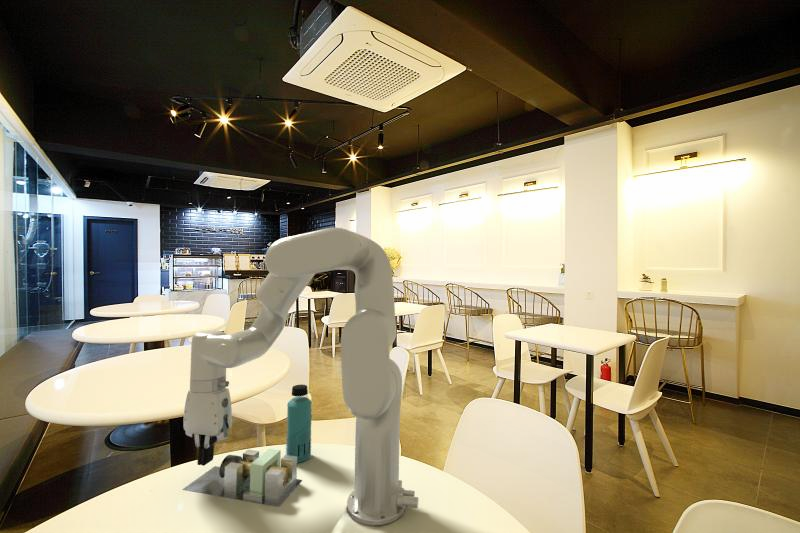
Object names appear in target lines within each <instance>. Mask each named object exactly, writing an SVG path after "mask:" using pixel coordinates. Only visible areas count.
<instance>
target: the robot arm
mask: <svg viewBox="0 0 800 533" xmlns="http://www.w3.org/2000/svg"><path fill="white" fill-rule="evenodd" d="M264 265H265V267H266V270H267V271H268V272H269V273H268V274H267V275H266V277H265V278H264V280H263V281H262V282H261V284H259V286H258V288H257V289H256V292H255V297H256V299H257V300H258V302H259V303H260V305H261V310H260V312H259V313H258V315H257V317H256V319H255V320H254V321H253V323H252V324H251V325H250V326H249V328H248V329H245V330H242V331H237V332H234V333H233V332H232V333H230V334H229V333H228V334H227V333H225V332H224V331H221V330H204V331H199V332H197V333H196V332H195V333H194V334H193V336H192V337H191V347H190V348H191V349H190V351H191V352H190V371H189V372H190V373H189V376H190V377H189V390H187V394H186V399H185V403H184V404H185V405H184V409H183V430H184V431H185V435H186V436H188V437H190V438H192V439H193V441H194V444H195V447H196V448H197V462H196V463H197V466H203V467H204V466H205V465H207V464H209V463H210V462H212V461H213V459H214V451H215V450H214V449H215V444H216V443H217V442H220V441H224V440H226V439H227V438H229V437H228V436H229V435H228V430H230V429H231V428H232V425H233V424H232V423H233V421H232V420H233V409H232V408H233V407H232V401H231V393H230V389H229V388H227V387H229V385H230V382H229V380H227V369H232V368H236V367H240V366H243V365H245V364H247V363H249V362H251V361H254V360H256V359H259V358H261V357H262V356H264V355H265V354H266V353H267V352H268V351H269V350H270V348H271V347H272V346H273V344H274V343H276V340H277V338H278V337H279V336H280V334H281V333H282V331H283V330H284V328H285V326H286V322H287V319H288V314H289V311H290V309H292V307H293V305H294V304H295V302H296V301H297V300H298V298H299V297H300V296H301V294H302V292H303V291H304V290H305V288H306V287H307V286H308V284H310V282H311V280H312V279H313V278H314V276H315V275H316V274H318V273H324V272H329V271H335V270H336V271H337V270H340V271H343V270H344V271H347V270H348V271H351V272H353V273H354V274H355V283H354V299H355V300H354V301H355V303H354V305H355V312H354V313H355V314H354V315H352V316H351V317H350V318H349V319H347V321H346V322H345V324H344V326H343V328H342V332H341V335H340V336H341V337H340V362H341V363H340V366H341V382H342V383H341V385H342V396H343V400H344V403H345V405H346V407H347V409H348V410H349V412H350V413H351V414H352V415H353V416H354V417H355V437H354V438H355V439H354V440H355V444H354V445H355V446H354V447H355V448H354V450H355V451H354V490H353V491H352V492H351V493H350V494H349V495H348V497H347V501H346V511H347V513H348V515H349V516H350V517H351V519H352V520H354V521H355V522H357V523H359V524H363V525H367V526H383V525H388V524H391V523H393V522H395V521H396V520H398V519H399V518H400V517H401V516H402V515H403V514H404V512H405V510H406V507H408V508H412V509H413V508H414V509H418V508H419V497H417V496H415V495H416V492H415V490H410V489H409V490H408V489H405V488H404V487H403V480H400V476H399V475H400V474H399V473H400V433H401V432H400V431H401V427H400V426H401V423H400V422H401V403H402V393H403V392H402V391H403V377H402V376H403V375H402V372H401V370H400V368H399V366H398V364H397V363H396V362H395V361H394V360H393V359H391V358H390V347H392V346H393V343H394V342H395V340H396V337H397V321H396V310H395V309H396V307H395V294H394V282H393V281H394V280H393V271H392V265H391V262H390V258H389V257H388V255H387V253H386V251H385V250H384V249H383V247H382V246H381V245H379V244H378V242H376V241H373V240H372V239H370V238H368V237H366V236H364V235H362V234H360V233H357V232H354V231H351V230H348V229H346V228H343V227H327V228H322V229H319V230H318V229H317V230H314V231H313V230H312V231H309V232H304V233H300V234H296V235H292V236H291V235H290V236H287V237H283V238H282V237H281V238H279V239H278V240H275V241H274V242H273V243H271V244H270V246H269V248H267V250H266V253H265V256H264Z"/></svg>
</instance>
